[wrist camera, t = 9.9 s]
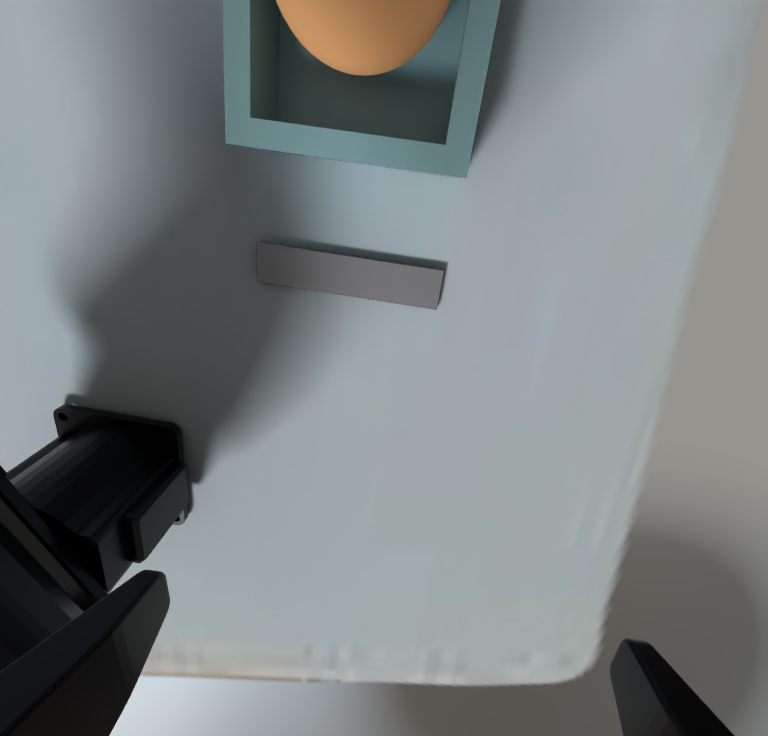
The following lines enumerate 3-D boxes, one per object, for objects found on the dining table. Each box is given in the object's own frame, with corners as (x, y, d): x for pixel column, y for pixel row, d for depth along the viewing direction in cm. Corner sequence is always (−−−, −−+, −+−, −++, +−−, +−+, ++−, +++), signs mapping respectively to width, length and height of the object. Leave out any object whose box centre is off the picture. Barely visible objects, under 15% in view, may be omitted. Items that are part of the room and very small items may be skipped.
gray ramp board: (259, 280, 18) (257, 281, 18) (260, 241, 17) (257, 242, 17) (436, 307, 18) (436, 309, 18) (443, 269, 17) (443, 271, 17)
